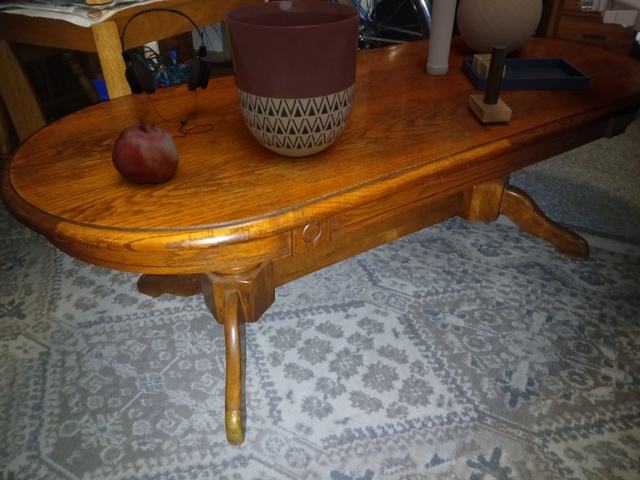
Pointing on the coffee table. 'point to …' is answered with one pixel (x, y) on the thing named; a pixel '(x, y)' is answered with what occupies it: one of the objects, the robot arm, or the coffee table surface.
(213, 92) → the coffee table surface
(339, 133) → the planter
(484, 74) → the beige cube
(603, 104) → the coffee table surface
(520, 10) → the decorative sphere
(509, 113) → the brush
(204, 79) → the headphones
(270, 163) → the coffee table surface
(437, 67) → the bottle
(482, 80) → the tray
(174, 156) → the fruit
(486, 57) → the crumb
